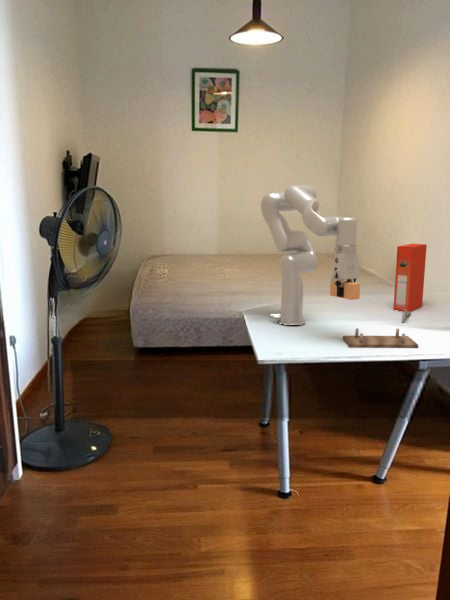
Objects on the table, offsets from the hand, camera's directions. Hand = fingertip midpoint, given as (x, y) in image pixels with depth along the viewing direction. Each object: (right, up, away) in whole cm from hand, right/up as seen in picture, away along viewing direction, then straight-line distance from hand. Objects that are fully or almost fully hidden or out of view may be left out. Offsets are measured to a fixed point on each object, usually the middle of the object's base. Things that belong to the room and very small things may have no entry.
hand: (344, 295), depth 198 cm
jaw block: (0, -1, 0) cm, 1 cm away
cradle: (+13, -19, -1) cm, 23 cm away
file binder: (+45, -6, +57) cm, 73 cm away
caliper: (+38, -11, +38) cm, 55 cm away
